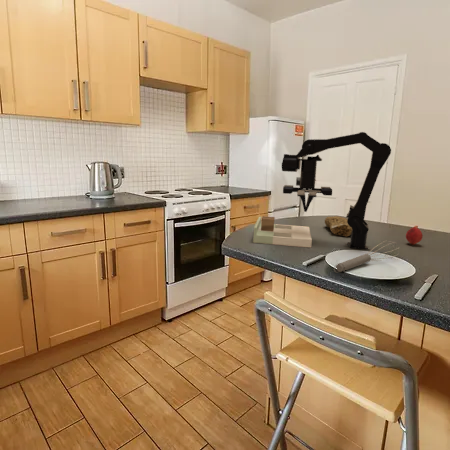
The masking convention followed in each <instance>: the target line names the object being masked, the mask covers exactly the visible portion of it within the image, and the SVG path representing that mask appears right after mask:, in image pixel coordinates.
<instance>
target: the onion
mask: <svg viewBox="0 0 450 450" xmlns="http://www.w3.org/2000/svg"><path fill="white" fill-rule="evenodd" d="M418 227H419V225H414V226H413V227H411V228H409V229H408V230H407V231H406V233H405V239H406V240H407V242H408V243H409V244H410V245H412V246H414V245H416V244H418V243H419V242H421V241H422V239H423V236H424V235H423V232H422V230H421V229H419V228H418Z"/></svg>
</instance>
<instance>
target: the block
mask: <svg viewBox="0 0 450 450" xmlns="http://www.w3.org/2000/svg"><path fill="white" fill-rule="evenodd" d="M275 218H276V217H275V216H266V215H265V216H264V215H263V216H261V231H273V230H274V224H275V220H276V219H275Z"/></svg>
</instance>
